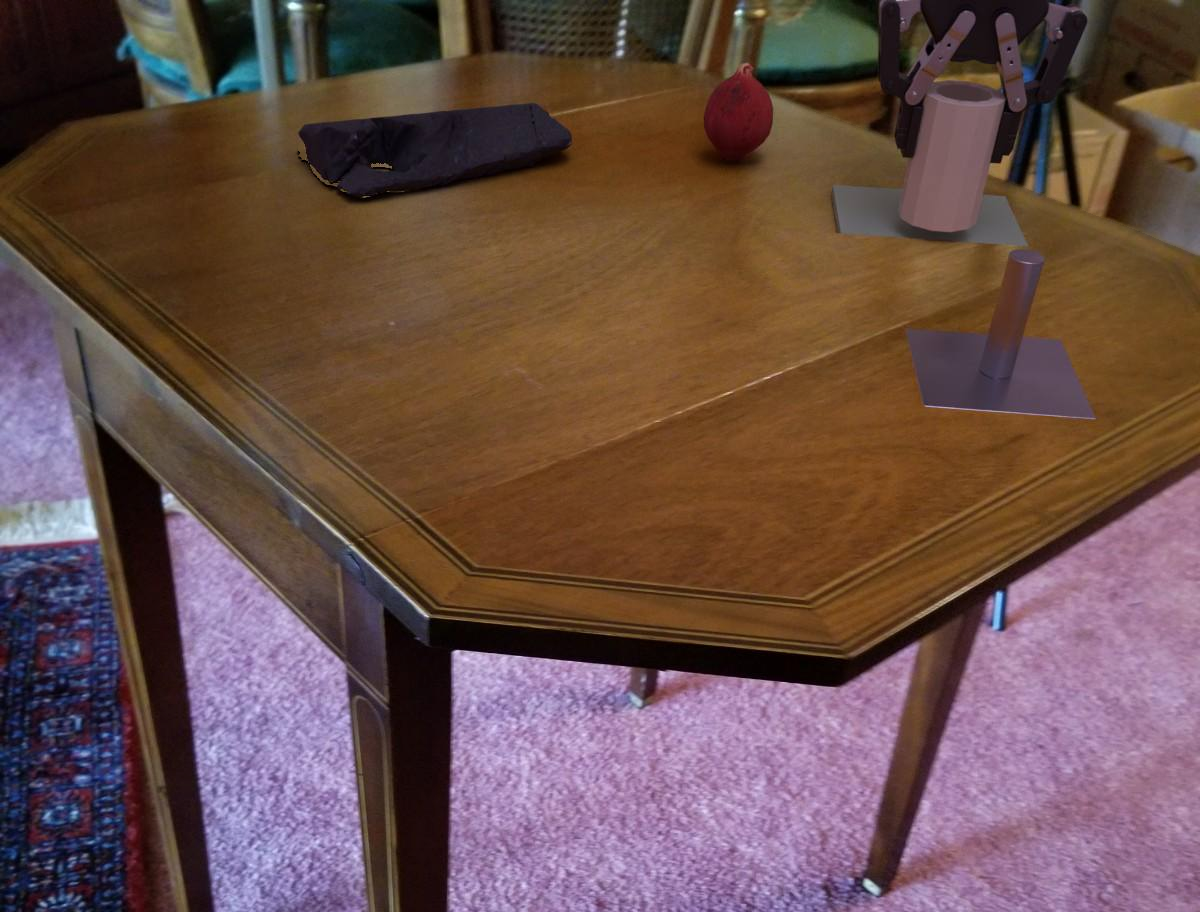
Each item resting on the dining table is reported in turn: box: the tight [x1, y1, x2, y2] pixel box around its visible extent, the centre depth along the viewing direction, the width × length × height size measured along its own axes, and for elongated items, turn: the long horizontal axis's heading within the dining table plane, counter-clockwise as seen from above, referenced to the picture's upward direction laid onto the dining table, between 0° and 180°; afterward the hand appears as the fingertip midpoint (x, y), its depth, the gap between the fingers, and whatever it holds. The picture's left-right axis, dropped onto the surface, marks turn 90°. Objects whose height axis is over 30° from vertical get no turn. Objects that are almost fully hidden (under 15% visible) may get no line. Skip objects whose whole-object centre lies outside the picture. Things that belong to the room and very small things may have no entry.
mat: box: [830, 184, 1029, 247], centre depth 92 cm, size 14×18×1 cm
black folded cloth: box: [298, 102, 573, 198], centre depth 100 cm, size 15×22×5 cm
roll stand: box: [904, 248, 1097, 420], centre depth 72 cm, size 10×10×9 cm
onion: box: [703, 62, 774, 163], centre depth 101 cm, size 6×6×8 cm
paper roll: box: [898, 79, 1006, 232], centre depth 88 cm, size 6×6×9 cm
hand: (949, 156), depth 88 cm, fingers closed on paper roll, 5 cm apart
